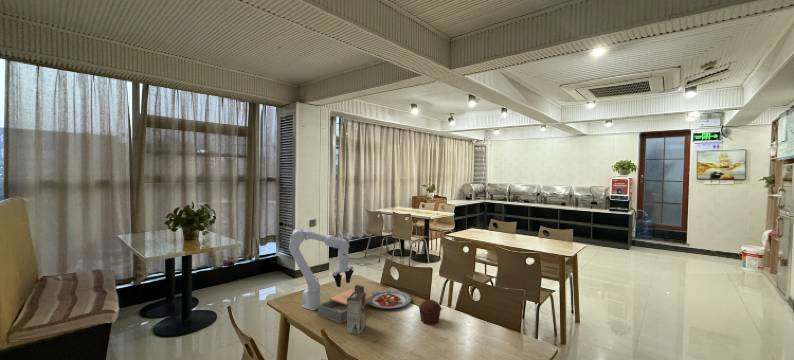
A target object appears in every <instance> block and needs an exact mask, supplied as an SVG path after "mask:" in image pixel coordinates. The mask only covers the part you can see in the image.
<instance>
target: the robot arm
mask: <svg viewBox="0 0 794 360" xmlns="http://www.w3.org/2000/svg"><path fill="white" fill-rule="evenodd" d="M310 239H311V240H314V241H319V242H322V243H324V245H325V246H328V247H331V248H334V249H337V251H338V252H337V269H335V270H334V271H332V277H333V279H334V280H335V281H334V282H335V284H336V288H337V287H338V288H341V284H342V277H343V275H341V274H342V273H344V274H345V283H346V284H350V282H351V279H352V275H353V274H354V265H351V264H350V265H349V248H350V243H349V241H347V239H346V238H342V237H337V236H335V235H334V234H329V235H327V236H326V235H323V234H320V233H317V232H315V231H312V230H308V229H306V228H305V229H302V228H300V227H297V228H294V229H293V230H292V232H291V234H290V236H289V246H288V251H289V252H290V254H291V256H292V257H293V260H294V261H295V263H296V265H297V267H298V269H299V271H300V272H301V273H302V275H303V277H304V279H305V281H306V284H307V288H306V289H304V290H303V292H302V305H301V307H302V308H304V309H308V310H310V311H315V310H318V306H319V305H321V304H322V303H321V284H320V282H319V278H318V277H317V276H315V275H314V273H313V271H312V270H311V268H310V266H309V265H308V263H307V261H306V259H305V258H304V256H303V253H302V252H301V250H300V246H301V245H302V243H303V242H304V240H305V241H308V240H310Z"/></svg>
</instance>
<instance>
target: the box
mask: <svg viewBox="0 0 794 360" xmlns="http://www.w3.org/2000/svg"><path fill="white" fill-rule="evenodd" d="M320 304H321V305H319V306H318V309H317V316H319V317H321V318H324V319H327V320H329V321H330V320H331V321H334V322H336V323H339V324H342V323H344V322H346V321H347V305H345V304H341V303H338V302H335V301H332V300H330V299H329V300H327V301H325V302H323V303H320Z"/></svg>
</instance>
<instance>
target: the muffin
mask: <svg viewBox="0 0 794 360" xmlns="http://www.w3.org/2000/svg"><path fill="white" fill-rule="evenodd" d="M418 309H419V315H420V321H421V322H422V324H423V325H428V326H435V325H437V324H439V321H440V315H441V311H442V309H443V308H442V307H441V305H440V304H439V303H438V302H437V301H436V300H434V299H426V300H424V301H423V302H422V303H421V304H420V305H419V306H418ZM436 323H437V324H436Z"/></svg>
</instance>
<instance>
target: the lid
mask: <svg viewBox="0 0 794 360" xmlns="http://www.w3.org/2000/svg"><path fill="white" fill-rule="evenodd" d="M353 292H359V293H365V286H364V285H360V284H356V285H354V289H351V288H349V289H348V290H345V291H343V292H341V293H339V294H336V295H335V296H332V297H329V300H332V301H335V302H338V303H341V304H345V305H347V299H348V298H349V297H350V296H351V294H352V293H353ZM370 294H371V293H366V294H365V295H366V300H368V299H370V298H372V297H373V295H370Z"/></svg>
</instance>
